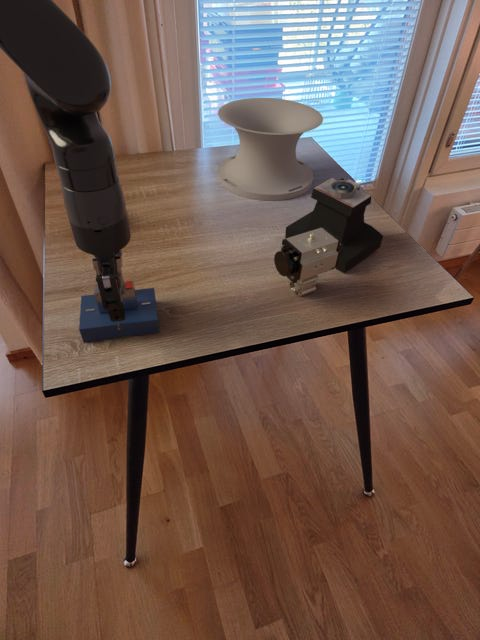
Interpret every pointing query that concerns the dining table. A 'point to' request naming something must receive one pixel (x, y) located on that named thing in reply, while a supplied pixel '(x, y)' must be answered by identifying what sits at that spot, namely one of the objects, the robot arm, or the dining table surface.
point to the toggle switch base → (134, 324)
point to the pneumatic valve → (308, 258)
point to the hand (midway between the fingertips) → (117, 302)
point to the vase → (267, 148)
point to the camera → (341, 220)
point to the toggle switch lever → (127, 294)
